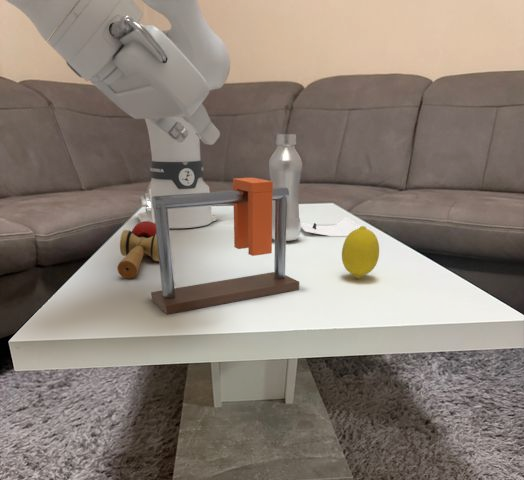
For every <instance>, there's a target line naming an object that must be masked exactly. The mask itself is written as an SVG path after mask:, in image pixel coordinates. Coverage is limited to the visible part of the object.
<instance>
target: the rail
mask: <svg viewBox="0 0 524 480" xmlns="http://www.w3.org/2000/svg"><path fill="white" fill-rule="evenodd" d="M272 192H273V199H272V201H275V240H274V262H273V263H274V266H273V267H274V269H273V270H274V271H272V272H266V273H259V274H254V275H248V276H247V275H246V276H241V277H236V278H235V277H234V278H229V279H223V280H216V281H211V282H205V283H197V284H191V285H186V286H180V287H175V277H174V267H173V254H172V243H171V232H170V231H171V230H170V228H169V219H168V209H178V208H190V207H203V206H211V207H213V206H225V205H234V204H239V203H248V192H247V191H243V190H239V191H233V190H225V191H212V192H211V191H210V192H209V193H194V194H179V195H165V196H153V197H152V206H153V209H154V214H155V224H156V234H157V244H158V254H159V261H158V263H159V271H160V281H161V282H160V283H161V290H155V291H151V292H150V296H151V301H152V302H153V303H154V304H155V305H156V306H157V307H158V308H159V309H160V310H161V311H162V312H163V313H164V314H165V315H171V314H177V313H181V312H186V311H187V312H188V311H192V310H197V309H201V308H202V309H203V308H209V307H214V306H219V305H225V304H230V303H236V302H240V301H245V300H250V299H255V298H261V297H267V296H271V295H277V294H282V293H283V294H284V293H288V292H293V291H299V290H300V281H299V280H297V279H295V278H292V277H290V276H289V275H286V261H287V260H286V256H287V255H286V254H287V253H286V252H287V241H286V218H287V199H288V197H289V190H288V188H286V187H283V188H273V191H272Z"/></svg>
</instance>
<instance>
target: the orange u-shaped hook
mask: <svg viewBox="0 0 524 480" xmlns="http://www.w3.org/2000/svg"><path fill="white" fill-rule="evenodd" d="M239 190H243V191H247V192H248V203H239V204H233V238H234V239H233V241H234V248H235V249H237V250H242V249H248V250H247V251H248V255H250V256H252V257H256V256H263V255H270V254H272V253H273V239H272V199H273V192H272V191H273V182H272V181H270V180H267V179H263V178H262V179H261V178H257V177H239V178H238V177H235V178H234V177H233V178H232V191H239Z"/></svg>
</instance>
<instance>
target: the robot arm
mask: <svg viewBox="0 0 524 480" xmlns="http://www.w3.org/2000/svg"><path fill="white" fill-rule="evenodd" d="M5 1H6V2H7V3H9V4H10V5H12V6H14V7H15V8H17V9H18V10H19V11H21V13H23V14H24V15H25V16H26V17H27V18H28V19H29V20H30V21H31V23H32V24H33V26H34V27H35V28H36V30H37V32H38V33H39V35H40V36H41V38H42V39H43V40H44V41H45V42H47V44H48V45H49V46H50V47H51V48H52V49H53V50H54V51H55V52H56V53H57V54H59V56H61V58H62V59H63V60H64V61H65V63H66V65H67V66H68V68H69V69H70V70H71V71H72V72H73V73H74V74H75V75H76V76H78V77H79V78H81V79H84V81H85V82H88V81H89V82H90V83H91V84H92V85H93V86H94V87H96V88H97V89H98V90H99V91H100V92H101V93H102V94H103V95H104V96H106V97H107V98H108V99H109V100H110V101H111V102H112V103H114V105H116V106H117V107H118V108H119V109H121V111H123V112H124V113H125V114H127V115H129V117H131V118H133V119H135V120H144V122H145V125H146V128H147V133H148V138H149V145H150V155H151V161H150V167H149V171H150V172H149V173H150V175H149V176H150V177H151V180H150V182H149V185H148V187H147V188H146V192H145V193H143V195H140V196H139V203H140V206H141V207H145V211H144V212H139V213H137V216H138V217H137V218H138V220H139V223H141V222H145V221H149V222H153V223H155V214H154V209H153V206H152V197H153V196H165V195H179V194H194V193H209V192H211V191H210V187H209V185H208V184H207V183H206V182H205V181H204V178H203V177H204V171H205V170H204V169H205V168H204V163H203V161H202V160H201V159H202V158H201V142H202V143H203V144H204V145H209V146H212V145H214V144H215V143H216V142H217V141H218V139H219V138H220V136H221V132H220V130H219V129H218V128H217V127H216V126H215V125H214V123H213V122H212V120H211V118H210V116H209V114H208V111H207V109H206V107H205V106H204V104H203V102H204V101H205V99H207V97H208V96H209V94H210V91H214V90H218V89H219V90H220V89H221V88H222V87H223V86H224V85H225V83H226V82H227V80H228V78H229V74H230V71H231V59H230V58H231V57H230V53H229V50H228V48H227V46H226V44H225V42H224V41H223V40H222V38H221V37H220V36H219V35H218V34H217V33H216V32H215V31H213V29H212V28H211V27H210V25H209V24H208V23H207V21H206V19H205V17H204V16H203V14H202V11H201V9H200V6H199V2H198V0H142V2H143V3H144V4H145V5H147V6H148V7H149V8H150V9H152V10H154V11H156V12H158V13H159V14H161V15H162V16H164V18H166V19H167V20H168V22H169V23H170V27H171V28H169V29H166V30H161V29H160V28H158V27H157V26H156V25H153V24H146V25H144V24H142V23H140V22H141V20H142V18H143V16H144V14H143V13H144V12H143V11H142V10H141V9H140V7H139V6H138V4H136V2H135V1H134V0H5ZM200 140H201V142H200ZM168 219H169V229H190V228H191V229H192V228H199V227H204V226H208V225H210V224H211V223H212V222H217V221H218V215H214V214H213V210H212V206H203V207H190V208H178V209H168Z"/></svg>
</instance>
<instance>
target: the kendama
mask: <svg viewBox="0 0 524 480" xmlns="http://www.w3.org/2000/svg"><path fill="white" fill-rule="evenodd" d="M119 241H120V242H119V250H120V254H121V256H124V258H123V259H121V261H120V262H119V263H118V265H117V272H118V274H119V275H120V276H121V277H122V278H123V279H129V280H130V279H133V278H135V277H136V276H137V274H138V270H139V268H140V265H141V263H142V260H143V257H144V256H149V257H150V258H151V259H152V260H153V261H154V262H159V254H158V244H157V234H156V224H155V223H153V222H149V221H145V222H138V223H137V224H135V226H133V228H132V230H130V229H129V230H128V229H123V231H122V233H121V235H120V240H119Z"/></svg>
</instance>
